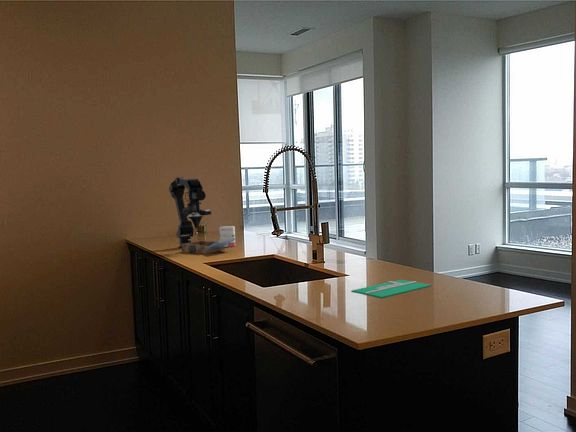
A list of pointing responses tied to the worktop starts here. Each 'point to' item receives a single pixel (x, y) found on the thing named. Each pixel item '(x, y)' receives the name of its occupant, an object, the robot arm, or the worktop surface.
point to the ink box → (227, 234)
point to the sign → (391, 288)
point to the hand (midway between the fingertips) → (196, 228)
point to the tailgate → (220, 243)
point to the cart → (199, 247)
